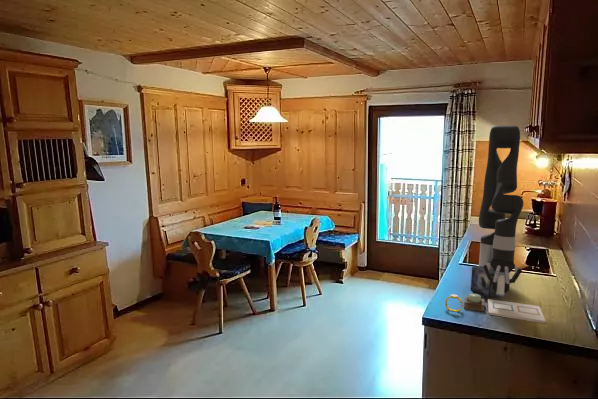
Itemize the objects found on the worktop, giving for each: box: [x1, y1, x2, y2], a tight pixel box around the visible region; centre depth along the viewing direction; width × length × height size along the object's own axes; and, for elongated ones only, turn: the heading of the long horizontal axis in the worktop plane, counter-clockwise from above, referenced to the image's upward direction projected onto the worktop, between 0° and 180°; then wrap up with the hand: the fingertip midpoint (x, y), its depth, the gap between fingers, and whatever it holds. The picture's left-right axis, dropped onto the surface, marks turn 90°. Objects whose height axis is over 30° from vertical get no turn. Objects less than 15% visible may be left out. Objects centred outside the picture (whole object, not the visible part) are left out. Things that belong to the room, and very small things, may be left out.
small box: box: [470, 265, 500, 299], centre depth 177 cm, size 11×6×10 cm, turn 21°
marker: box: [496, 272, 506, 297], centre depth 160 cm, size 3×3×9 cm
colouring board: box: [487, 298, 547, 324], centre depth 157 cm, size 16×18×1 cm
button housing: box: [463, 295, 486, 312], centre depth 160 cm, size 7×7×2 cm
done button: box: [467, 293, 482, 303], centre depth 160 cm, size 4×4×3 cm
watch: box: [444, 293, 464, 313], centre depth 155 cm, size 6×3×6 cm, turn 60°
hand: (500, 291), depth 160 cm, fingers closed on marker, 3 cm apart
